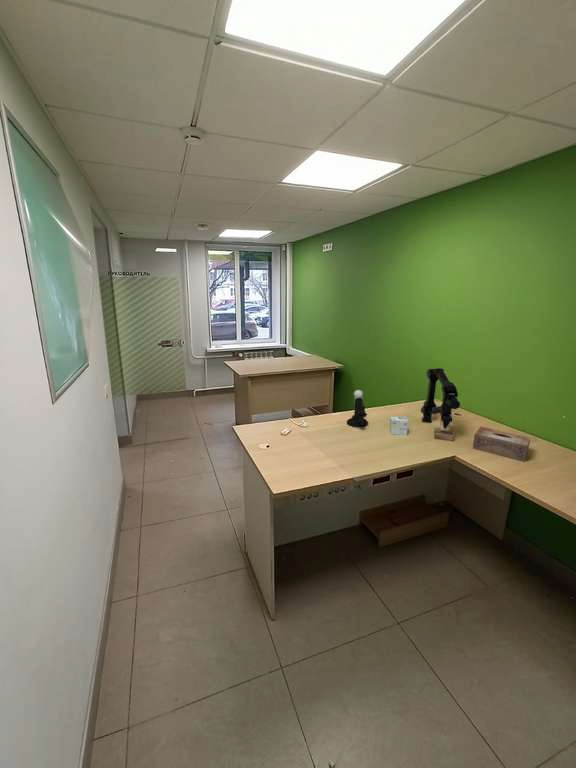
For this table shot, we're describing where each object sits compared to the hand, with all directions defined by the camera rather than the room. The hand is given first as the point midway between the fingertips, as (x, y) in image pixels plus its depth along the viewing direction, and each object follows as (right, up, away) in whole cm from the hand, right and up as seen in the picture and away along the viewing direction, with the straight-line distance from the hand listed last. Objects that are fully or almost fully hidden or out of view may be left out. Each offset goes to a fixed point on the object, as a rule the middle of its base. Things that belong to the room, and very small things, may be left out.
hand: (444, 426), depth 216 cm
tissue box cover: (+24, -12, -18) cm, 33 cm away
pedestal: (0, -7, +2) cm, 7 cm away
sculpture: (-51, -2, +22) cm, 55 cm away
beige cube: (0, -1, 0) cm, 2 cm away
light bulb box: (-27, -6, +8) cm, 29 cm away
